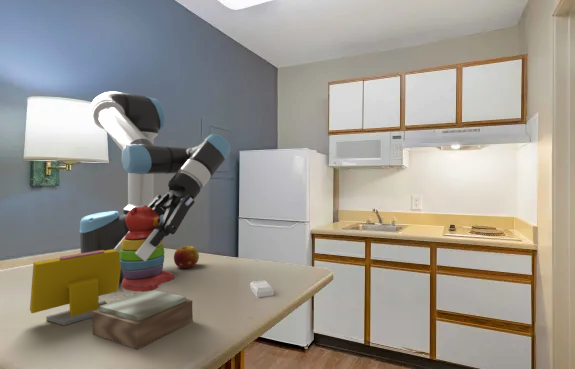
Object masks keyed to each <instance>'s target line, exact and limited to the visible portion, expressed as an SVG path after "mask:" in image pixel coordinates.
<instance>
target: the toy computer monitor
mask: <svg viewBox="0 0 575 369" xmlns="http://www.w3.org/2000/svg"><path fill="white" fill-rule="evenodd" d="M32 264H33V265H32V276H31V289H30V290H31V291H30V304H29V311H30V313H31V314H35V313H39V312H43V311H47V310H50V309H54V308H58V307H63V306H65V305H67V306H68V305H69V310H64V311H61V312H57V313H54V314H50V315H47V316H46V318H45V319H46V321H48V322H51V321H52V322H51V323H54V322H55V324H58V325H62V326H64V325H65V326H67V324H68V325H70V324H71V323H72V324H75V323H78V322H81V320H82V321H85V320H89V319H92V311H95V310H98V309H99V306H101V305H104V304H107V303H108V302H107V301H106V300H102V301H99V300H100V299H99V298H100V297H101V296H104V295H108V294H113V293H116V292H119V285H120V283H119V279H120V272H121V265H120V253H119V252H118V251H116V250H115V249H112V250H105V251H104V250H99V251H93V252H87V253H81V252H80V253H76V254H68V255H63V256H60V257H57V258H51V259H45V260H39V261H34V262H33V263H32ZM74 322H75V323H74ZM72 324H71V325H72Z"/></svg>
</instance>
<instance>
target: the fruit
mask: <svg viewBox="0 0 575 369" xmlns="http://www.w3.org/2000/svg"><path fill="white" fill-rule="evenodd" d="M199 257H200V255H199V251H198V250H197V249H196V247H194V246H192V245H186V246H182V247H178V248H177V249H176V250H175V251H174V254H173V262H174V264H175V265H176V266H177V267H178V268H180V269H189V268H192V267H194V266H195V265H196V264H197V263H198V262H199V259H200V258H199Z"/></svg>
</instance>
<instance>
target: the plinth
mask: <svg viewBox="0 0 575 369" xmlns="http://www.w3.org/2000/svg"><path fill="white" fill-rule="evenodd" d="M193 313H194V312H193V300H191V299H188V298H187V297H186V296H183V295H178V294H174V293H168V292H164V291H160V290H159V291H158V290H156V289H155V290H152V291H147V292H136V293H135V294H130V295H128V296H125V297H122V298H119V299H117V300H113V301H111V302H107V304H104V305H101V306H99V309H98V310H95V311H92V318H91V319H92V322H91V323H92V335H94V336H97V335H98V337H100V336H101V337H100V338H103V337H105V338H107V339H106V340H108V339H110V340H109V341H111V340H113V341H112V342H114V341H116V342H115V343H117V342H119V343H118V344H120V343H121V345H123V344H124V346H126V345H127V346H126V347H129V348H132V349H136V350H139V349H141V348H143V347H144V346H147V345H149V344H151V343H153V342H154V341H157V340H159V339H161V338H162V337H165V336H167V335H169V334H171V333H172V332H174V331H177V330H178V329H181V328H182V327H184V326H186V325H188V324H191V323H192V322H193V319H194V318H193ZM105 338H104V339H105Z"/></svg>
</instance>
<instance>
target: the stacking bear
mask: <svg viewBox="0 0 575 369" xmlns="http://www.w3.org/2000/svg"><path fill="white" fill-rule="evenodd" d="M160 221H161V219H160V217H159V216H158V214H157V213H156V212H155V211H154V210H153V209H152V208H150V207H148V206H146V205H145V206H143V207H134V208H132V209H131V210H130V211H129V212H128V213H127V215H126V225H127V228H128V229H129V233H127V234H126V235H125V238H124V239H123V240H122V244H121V250H120V265H121V268H122V272H123V275H124V278H123V281H122V282H121V288H122V289H124V290H127V291H131V292H137V293H139V292H147V291H152V290H155V291H156V290H158V288H159V286H160V285H162V284H164V283H168V282H172V281H173V280H174V279H175V275H174V274H173V273H172V272H170V271H166V270H163V268H164V262H165V248H164V245H163V241H161V242H160V243H159V245H158V246H157V247H156V249H155V250H154V251H153V252H152V254H151V255H150V256H149V258H148V259H147V260H146V261H143V260H142V259H141V258H140V257H139V256H137V255H136V254H135V253H136V251H137V250H138V249H139V248H140V247H141V245H142V244H143V243H144V242H145V240H146V239H147V238H148V237H149V235H150V234H151V233H152V232H153V230H154V229H156V226H157V225H159V224H160Z"/></svg>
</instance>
